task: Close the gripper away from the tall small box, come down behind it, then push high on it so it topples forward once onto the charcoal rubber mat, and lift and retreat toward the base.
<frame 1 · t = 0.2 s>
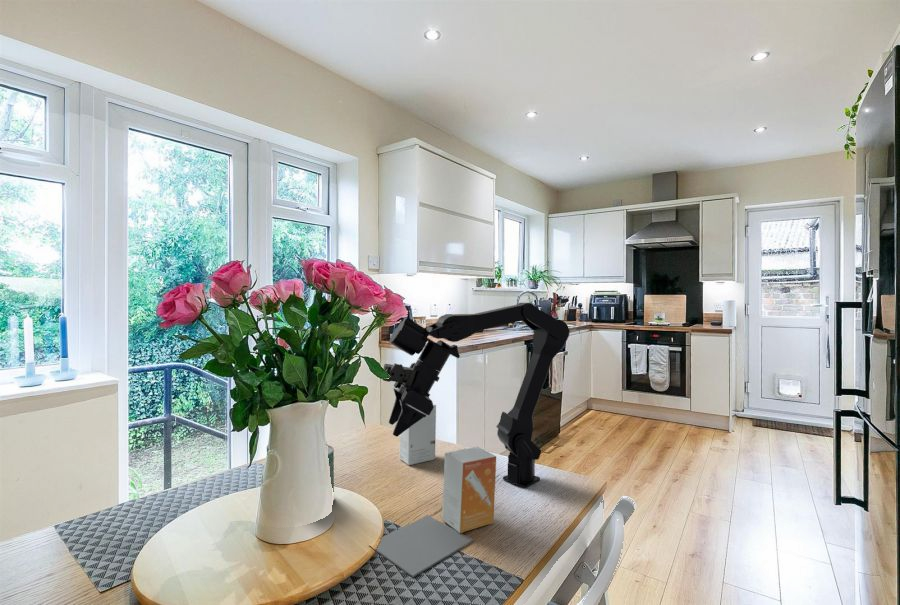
hand: (392, 429, 94), 15 cm above the table, tool tilted 30°, fingers open, 9 cm apart
small box: (467, 522, 84), on the table, touching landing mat
canned tomato: (314, 503, 91), on the table
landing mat: (421, 543, 76), on the table
skincare box: (417, 459, 115), on the table
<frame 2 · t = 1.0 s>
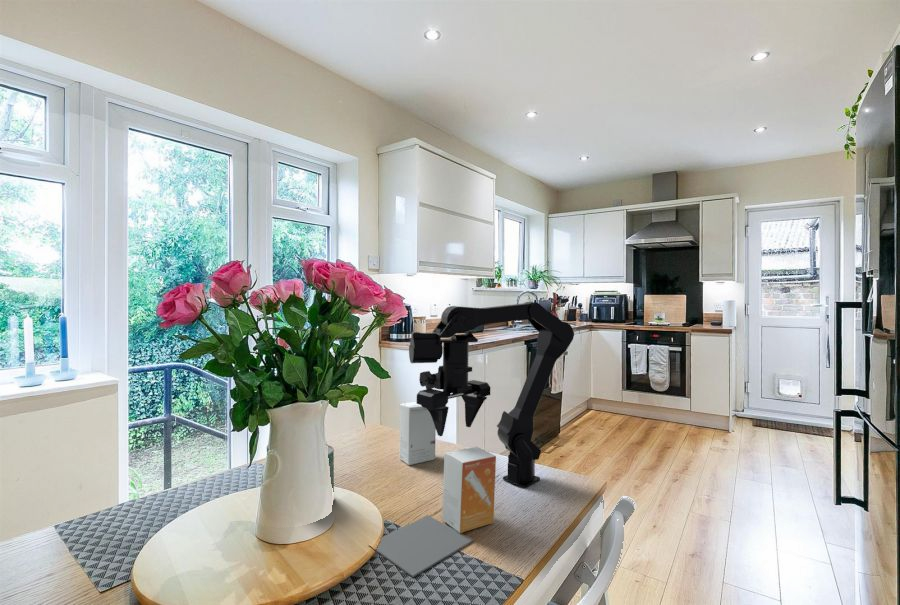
hand: (454, 431, 98), 13 cm above the table, tool pointing down, fingers open, 9 cm apart
nothing on the table moved.
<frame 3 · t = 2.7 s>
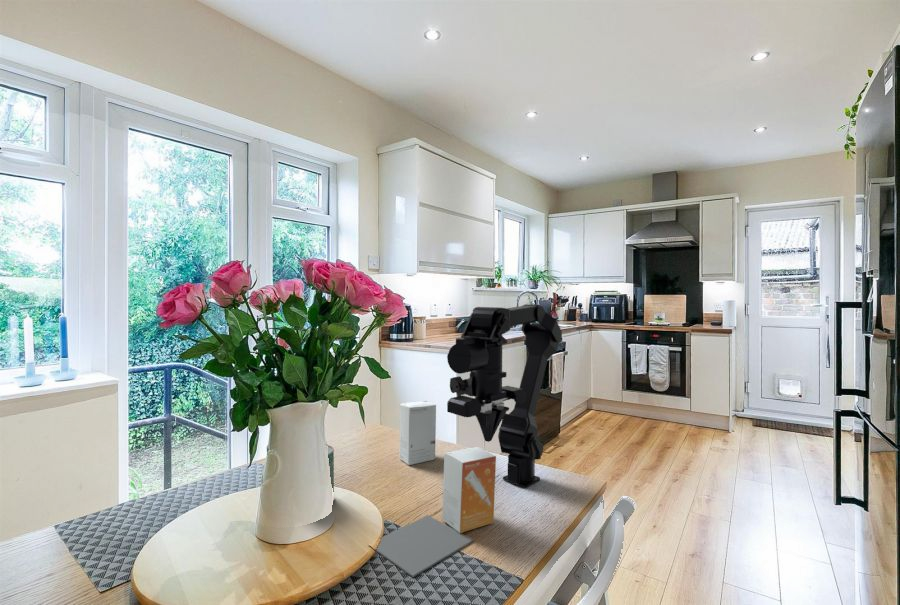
hand: (488, 441, 91), 13 cm above the table, tool pointing down, fingers closed
nothing on the table moved.
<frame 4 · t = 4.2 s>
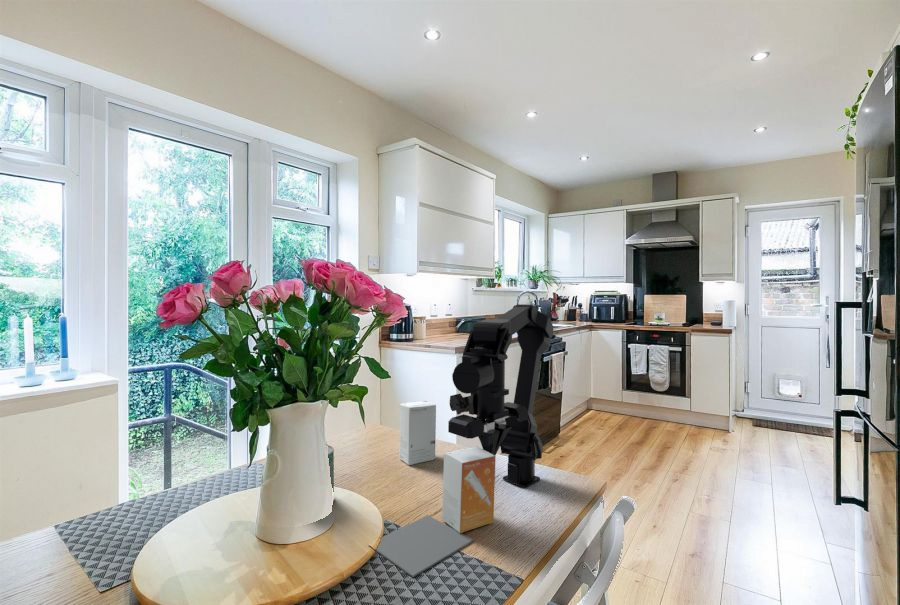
hand: (489, 461, 88), 10 cm above the table, tool pointing down, fingers closed
small box: (467, 522, 84), on the table, touching gripper, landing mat
everything else where it was.
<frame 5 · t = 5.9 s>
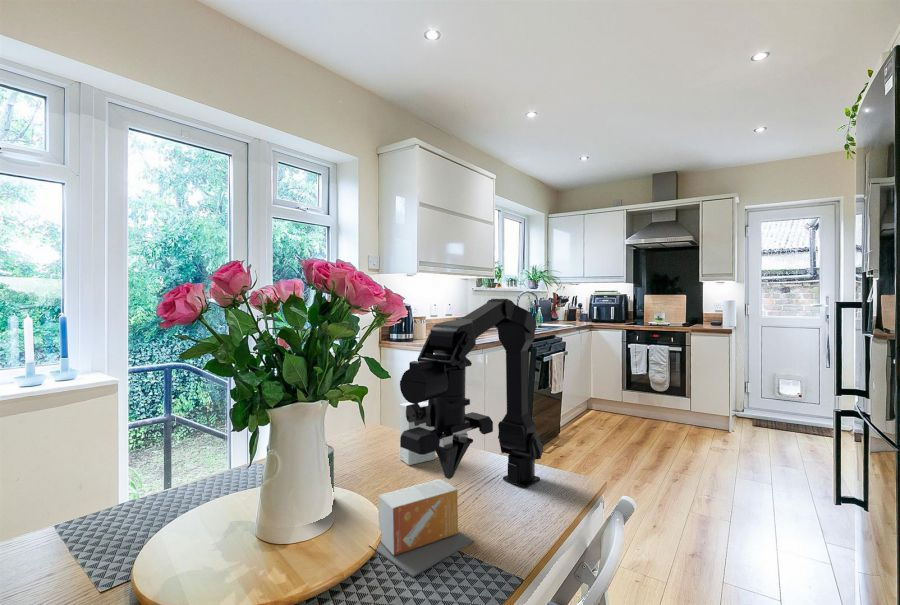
hand: (448, 478, 80), 10 cm above the table, tool pointing down, fingers closed
small box: (450, 504, 81), point 4 cm above the table, touching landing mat
everything else where it was.
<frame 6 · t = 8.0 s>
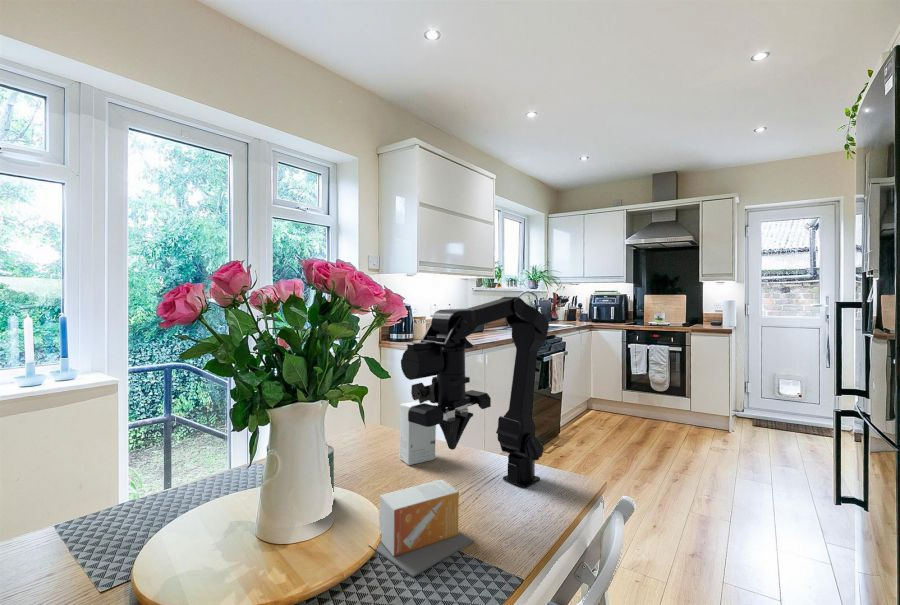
hand: (452, 448, 88), 13 cm above the table, tool pointing down, fingers closed
nothing on the table moved.
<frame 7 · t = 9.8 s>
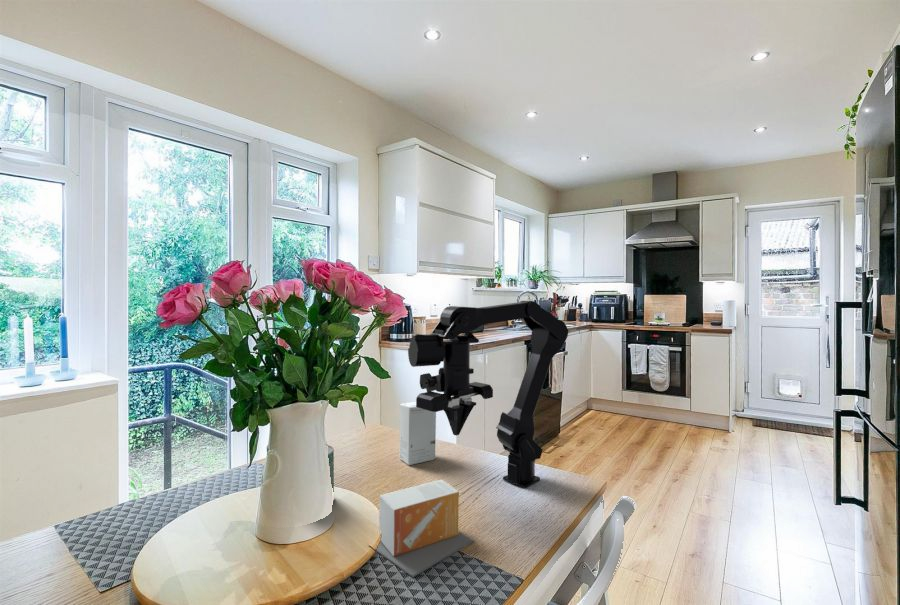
hand: (456, 434, 95), 13 cm above the table, tool pointing down, fingers closed
nothing on the table moved.
at the end: small box tilted 90°; small box inside the target area (5.2 cm from its centre), point 4.3 cm above the table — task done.
